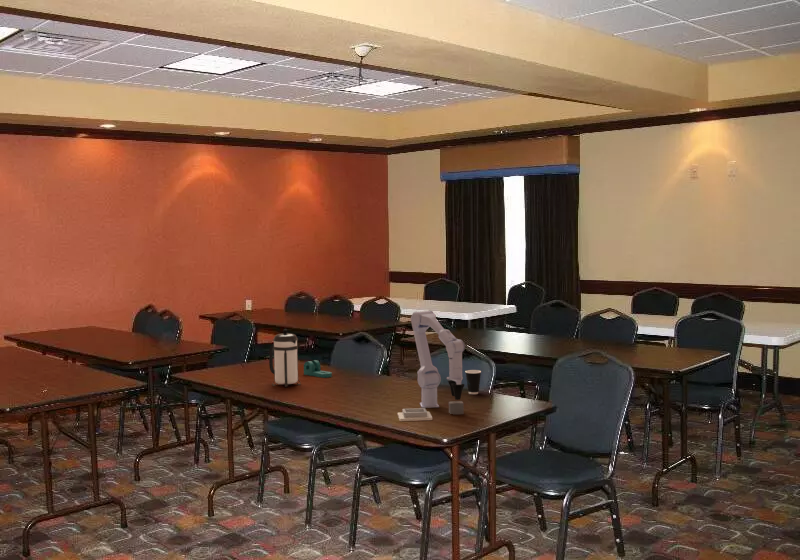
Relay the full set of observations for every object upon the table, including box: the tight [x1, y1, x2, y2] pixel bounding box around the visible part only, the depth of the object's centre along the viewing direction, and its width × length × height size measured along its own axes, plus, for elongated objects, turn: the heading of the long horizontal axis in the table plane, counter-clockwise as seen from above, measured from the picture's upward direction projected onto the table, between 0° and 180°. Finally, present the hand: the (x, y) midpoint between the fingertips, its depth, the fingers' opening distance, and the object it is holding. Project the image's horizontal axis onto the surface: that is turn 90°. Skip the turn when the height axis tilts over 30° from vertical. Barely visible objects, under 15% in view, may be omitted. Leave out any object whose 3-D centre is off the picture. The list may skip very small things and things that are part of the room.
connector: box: [448, 400, 465, 415], centre depth 360 cm, size 4×6×5 cm, turn 95°
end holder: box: [397, 407, 433, 422], centre depth 353 cm, size 12×14×3 cm
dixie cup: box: [464, 369, 482, 395], centre depth 401 cm, size 8×8×11 cm
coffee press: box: [268, 328, 301, 388], centre depth 430 cm, size 17×16×30 cm
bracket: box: [303, 359, 333, 379], centre depth 457 cm, size 18×7×8 cm, turn 48°
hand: (456, 397), depth 359 cm, fingers open, 7 cm apart
